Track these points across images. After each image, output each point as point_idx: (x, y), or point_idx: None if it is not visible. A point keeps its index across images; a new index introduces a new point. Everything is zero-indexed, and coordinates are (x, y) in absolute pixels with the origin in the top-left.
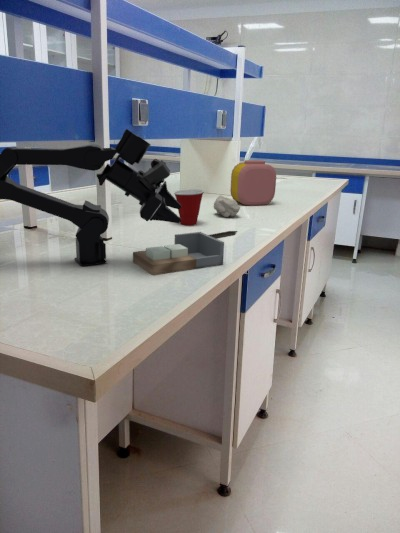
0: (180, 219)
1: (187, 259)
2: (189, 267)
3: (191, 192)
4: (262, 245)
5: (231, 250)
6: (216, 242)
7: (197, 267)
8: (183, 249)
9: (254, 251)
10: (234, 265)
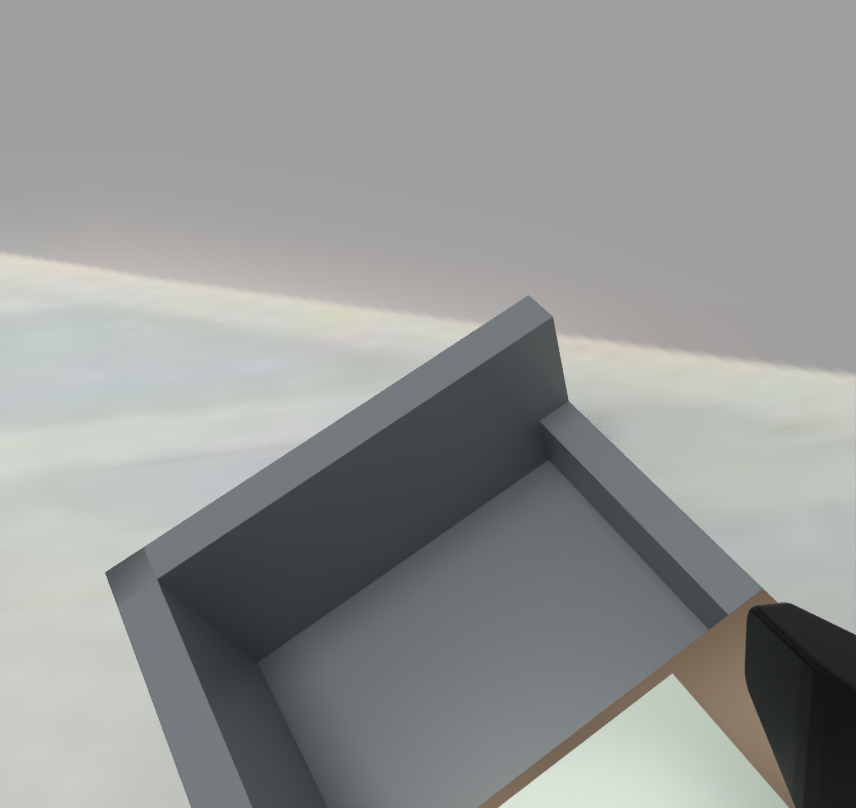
0: (809, 614)
1: None
2: None
3: None
4: (67, 270)
5: (165, 421)
6: (489, 374)
7: None
8: (717, 731)
9: (199, 291)
10: None
